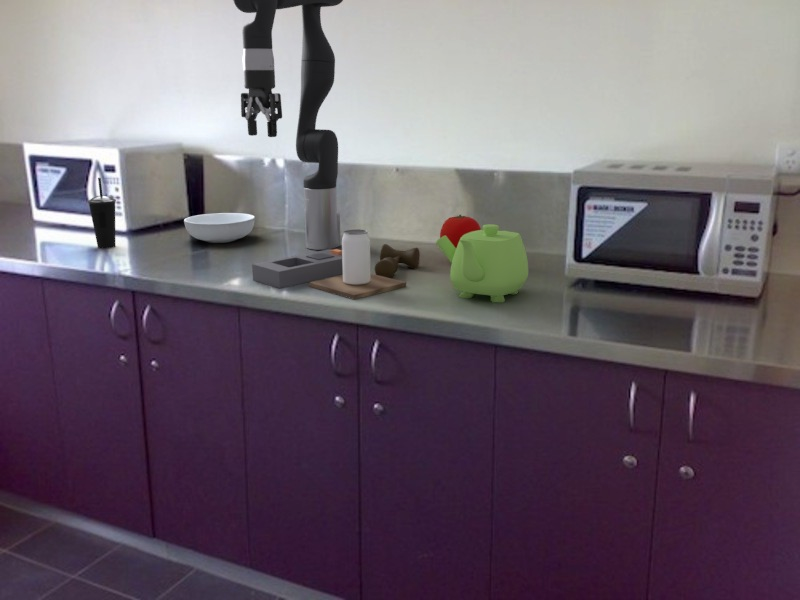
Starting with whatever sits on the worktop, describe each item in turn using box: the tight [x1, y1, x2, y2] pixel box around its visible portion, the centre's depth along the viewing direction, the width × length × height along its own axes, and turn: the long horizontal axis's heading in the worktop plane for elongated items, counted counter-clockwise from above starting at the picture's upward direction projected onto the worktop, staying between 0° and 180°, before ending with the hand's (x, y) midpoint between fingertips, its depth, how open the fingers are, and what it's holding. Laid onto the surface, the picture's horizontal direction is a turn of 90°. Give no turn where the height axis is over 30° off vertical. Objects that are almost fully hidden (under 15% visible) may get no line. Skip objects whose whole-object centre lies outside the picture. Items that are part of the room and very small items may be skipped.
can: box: [341, 228, 371, 285], centre depth 182 cm, size 6×6×12 cm
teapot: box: [435, 223, 529, 303], centre depth 175 cm, size 25×22×16 cm
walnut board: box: [308, 272, 407, 300], centre depth 184 cm, size 16×16×1 cm
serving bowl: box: [183, 212, 256, 244], centre depth 237 cm, size 21×21×7 cm
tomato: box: [439, 214, 482, 248], centre depth 205 cm, size 11×11×13 cm
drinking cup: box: [87, 177, 117, 249], centre depth 226 cm, size 8×8×20 cm
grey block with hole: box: [251, 248, 343, 289], centre depth 194 cm, size 24×11×5 cm, turn 134°
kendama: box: [374, 243, 421, 279], centre depth 199 cm, size 6×10×20 cm
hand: (262, 136), depth 197 cm, fingers open, 8 cm apart
